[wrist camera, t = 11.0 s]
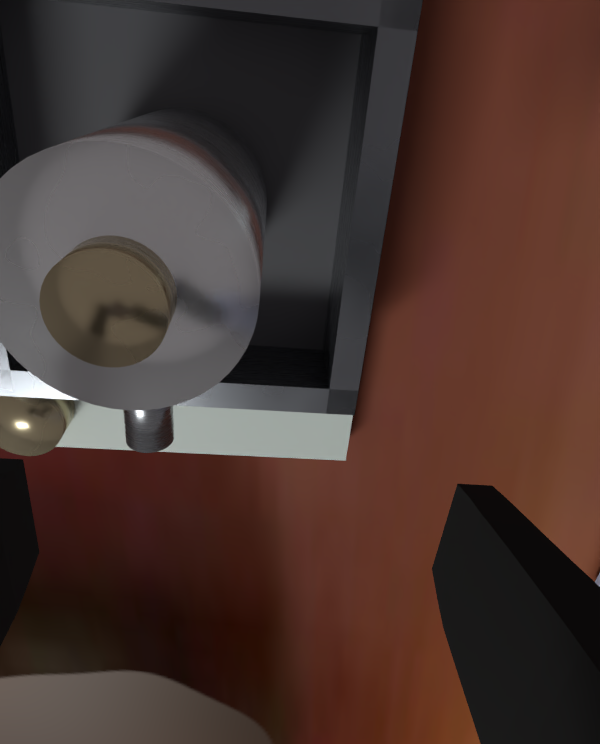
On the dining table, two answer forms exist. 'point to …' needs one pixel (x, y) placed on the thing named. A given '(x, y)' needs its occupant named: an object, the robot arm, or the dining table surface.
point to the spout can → (134, 264)
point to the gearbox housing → (282, 178)
